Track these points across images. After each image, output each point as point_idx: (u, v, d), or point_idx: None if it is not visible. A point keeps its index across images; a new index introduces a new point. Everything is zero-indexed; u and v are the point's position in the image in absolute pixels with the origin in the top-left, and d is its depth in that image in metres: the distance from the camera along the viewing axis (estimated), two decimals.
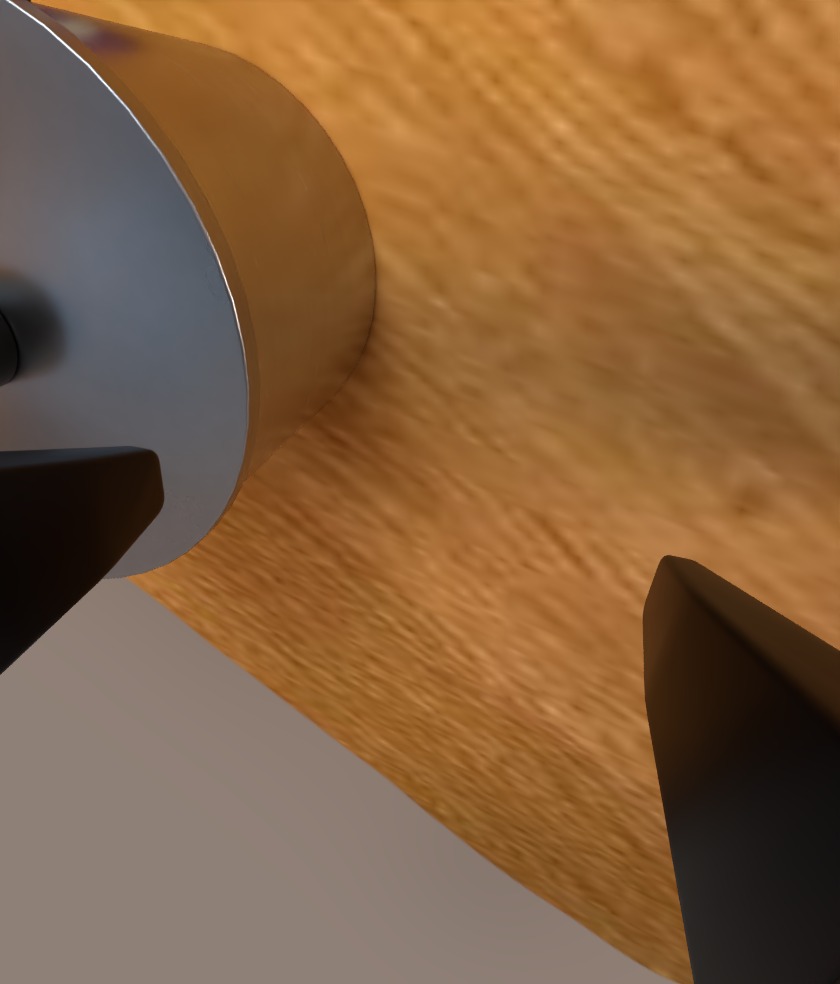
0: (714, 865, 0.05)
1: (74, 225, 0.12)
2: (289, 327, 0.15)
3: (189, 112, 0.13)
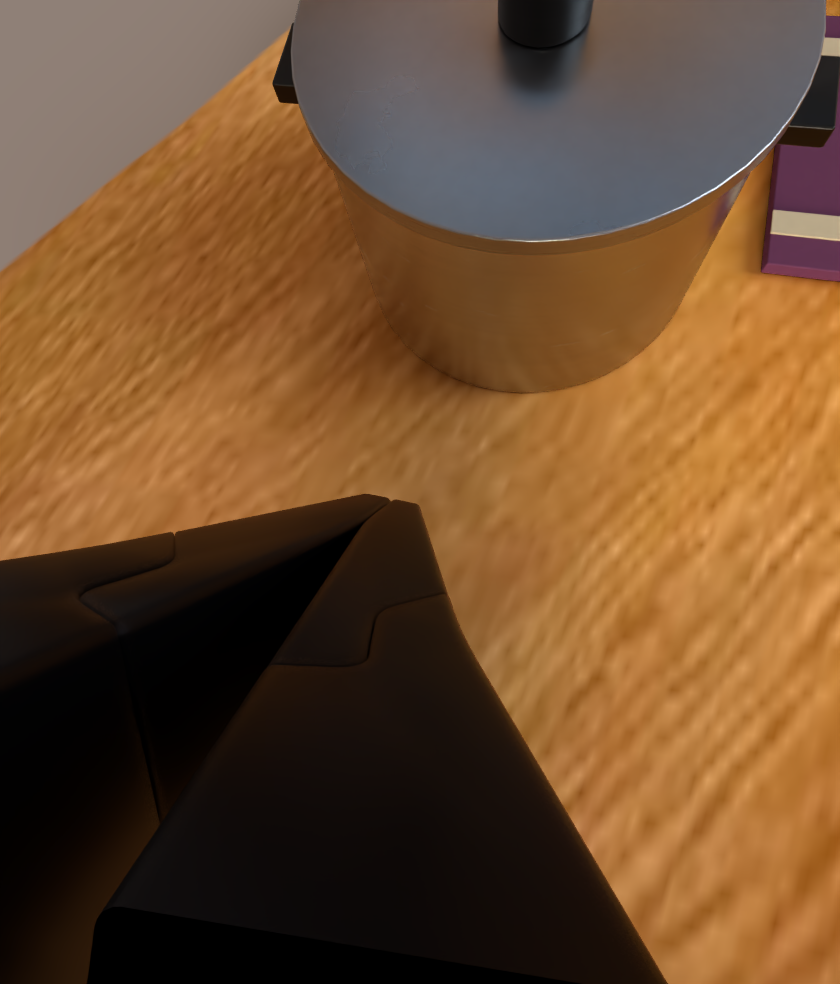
0: None
1: (634, 125, 0.15)
2: (514, 294, 0.17)
3: (685, 243, 0.17)
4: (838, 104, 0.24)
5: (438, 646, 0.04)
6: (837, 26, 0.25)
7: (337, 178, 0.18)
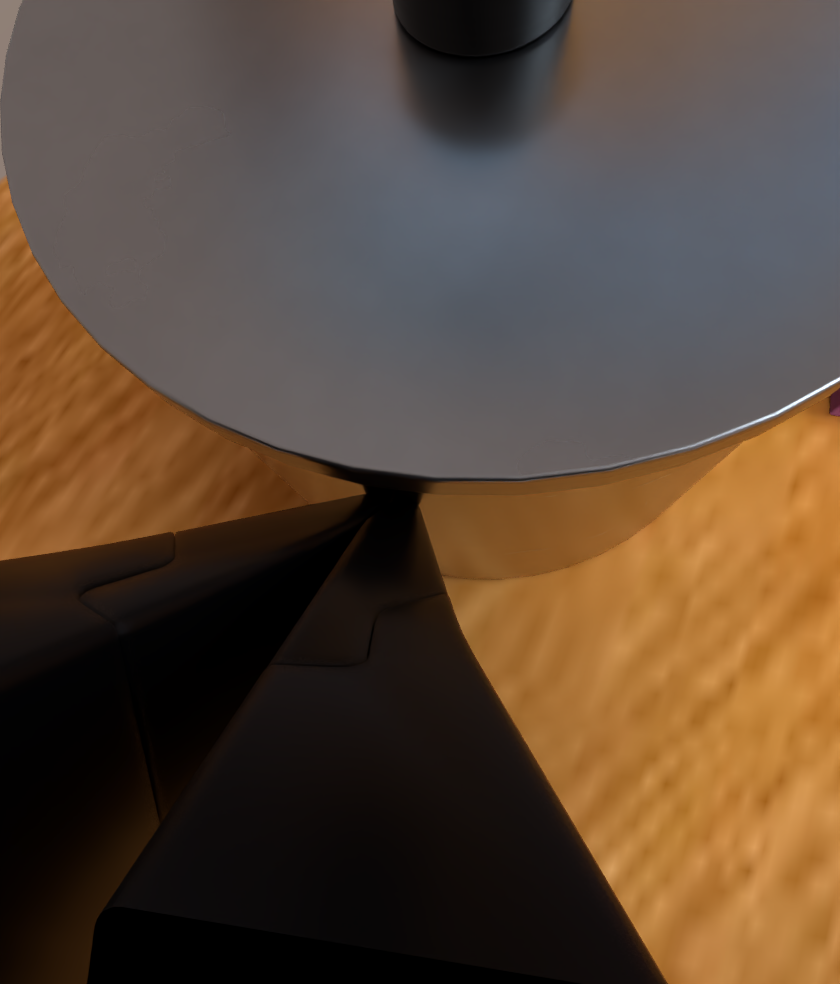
0: None
1: (662, 222, 0.07)
2: (429, 512, 0.09)
3: None
4: None
5: (438, 646, 0.04)
6: None
7: None
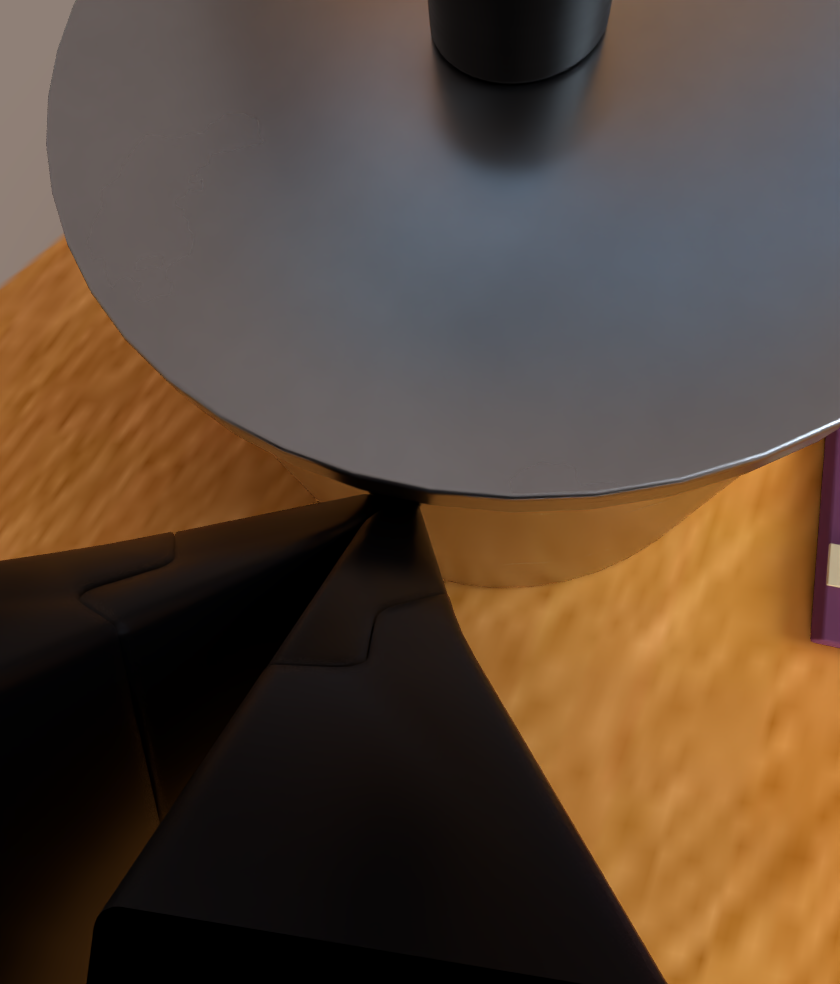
0: None
1: (670, 259, 0.07)
2: (427, 520, 0.09)
3: None
4: None
5: (438, 646, 0.04)
6: None
7: None
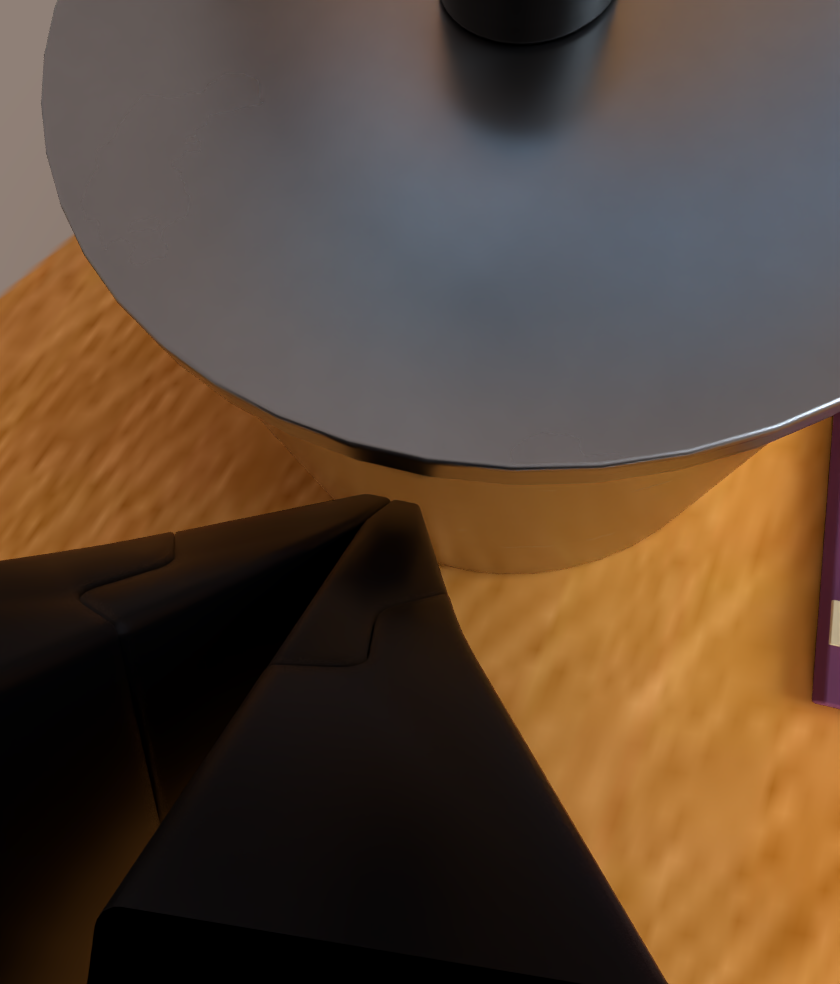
0: None
1: (682, 224, 0.07)
2: (427, 497, 0.09)
3: None
4: None
5: (438, 646, 0.04)
6: None
7: None
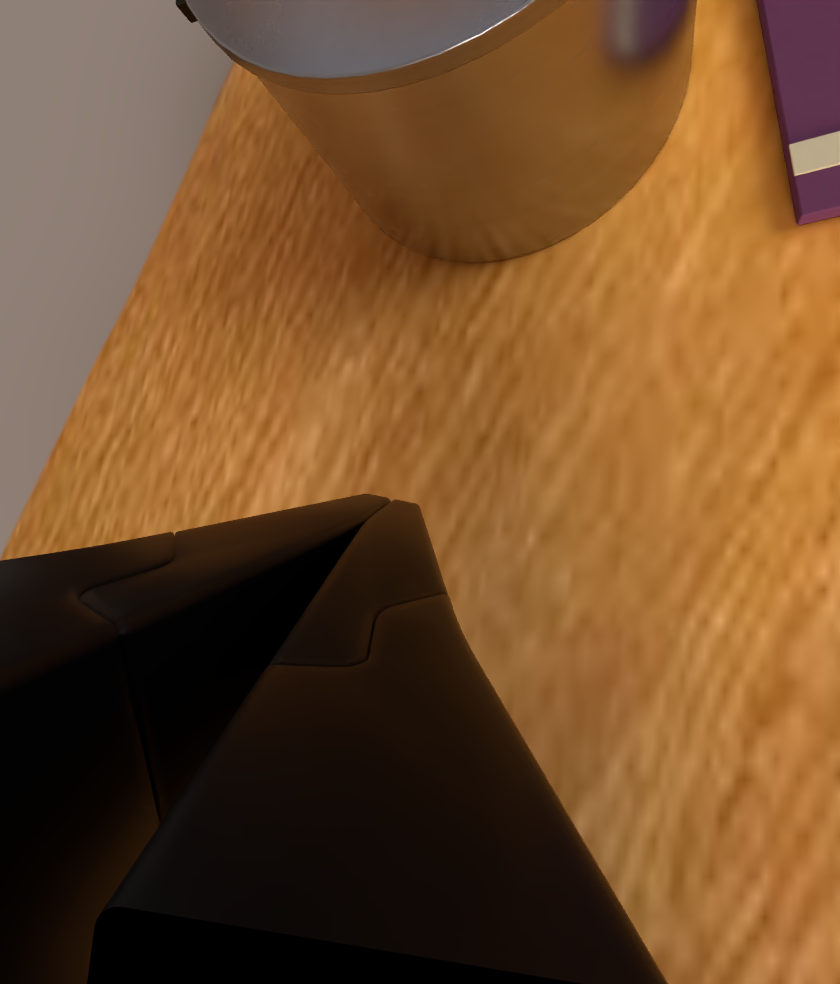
0: None
1: None
2: (459, 131, 0.16)
3: (636, 0, 0.14)
4: None
5: (438, 646, 0.04)
6: None
7: (257, 76, 0.17)
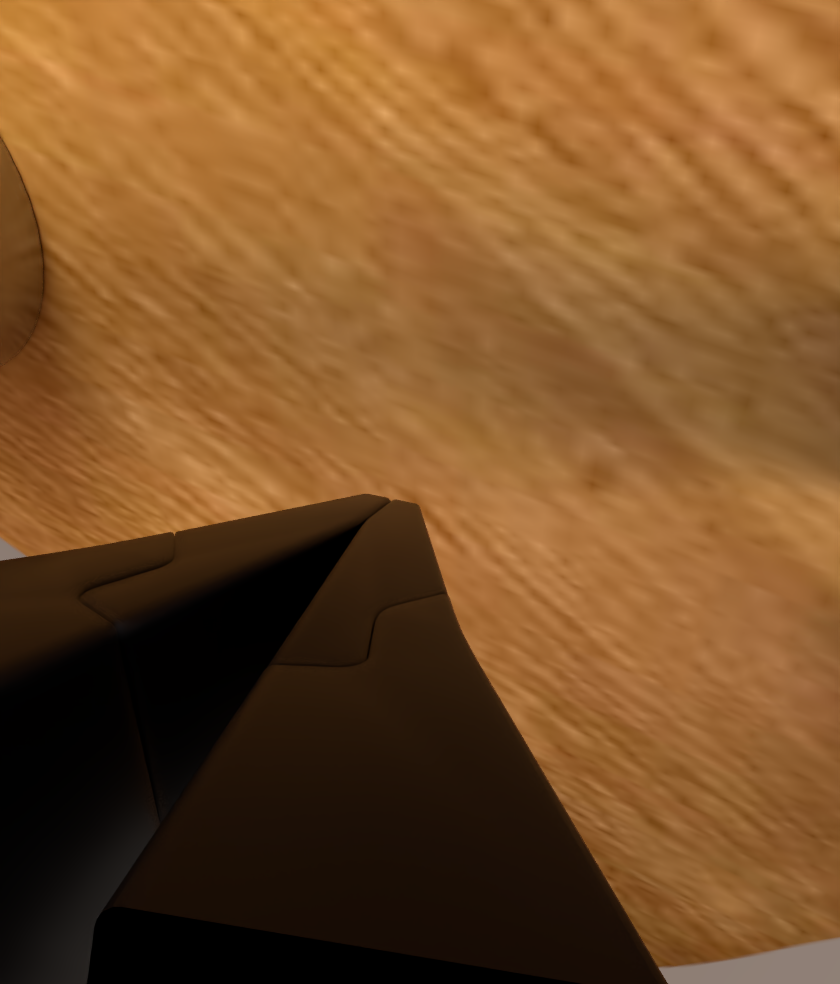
0: None
1: None
2: None
3: None
4: None
5: (438, 646, 0.04)
6: None
7: None
